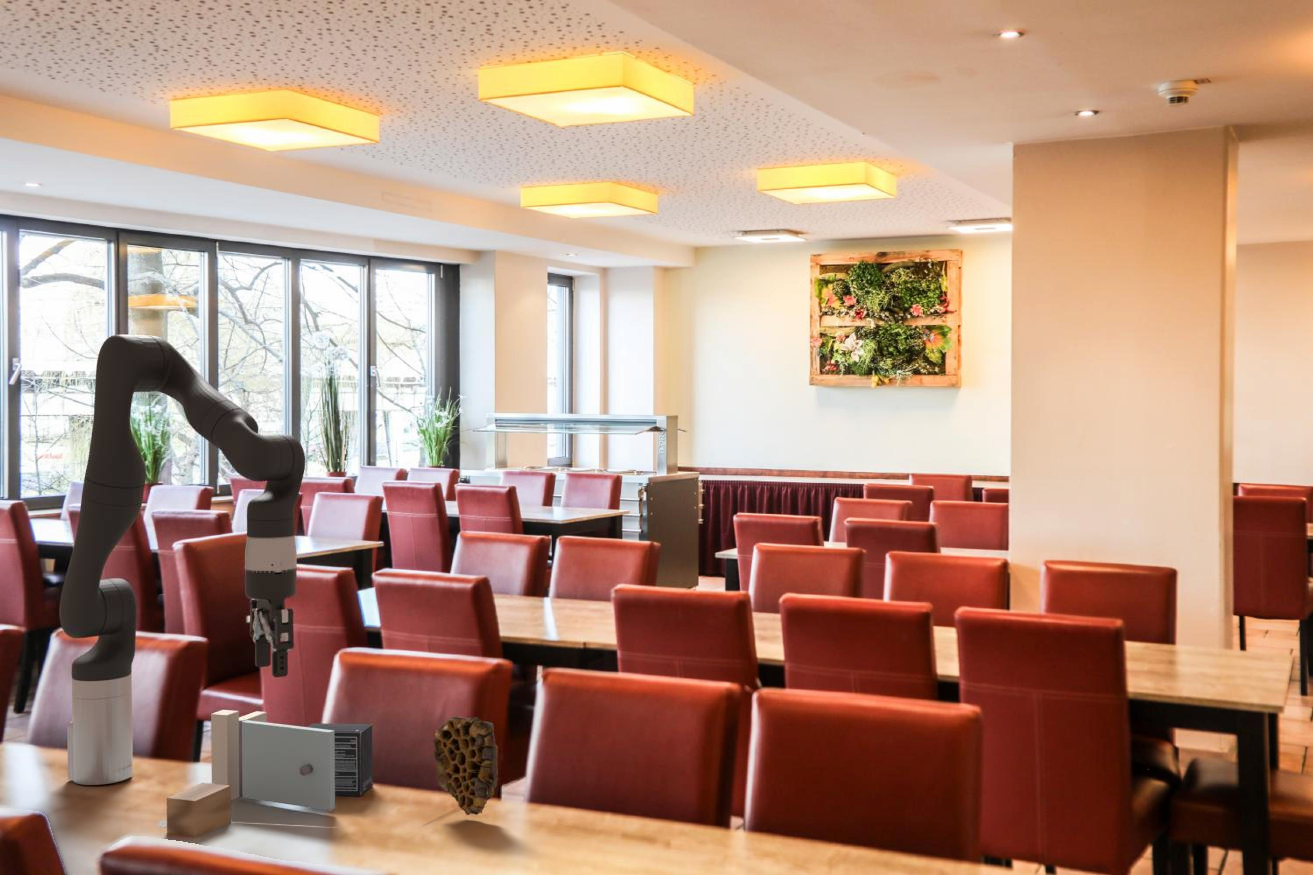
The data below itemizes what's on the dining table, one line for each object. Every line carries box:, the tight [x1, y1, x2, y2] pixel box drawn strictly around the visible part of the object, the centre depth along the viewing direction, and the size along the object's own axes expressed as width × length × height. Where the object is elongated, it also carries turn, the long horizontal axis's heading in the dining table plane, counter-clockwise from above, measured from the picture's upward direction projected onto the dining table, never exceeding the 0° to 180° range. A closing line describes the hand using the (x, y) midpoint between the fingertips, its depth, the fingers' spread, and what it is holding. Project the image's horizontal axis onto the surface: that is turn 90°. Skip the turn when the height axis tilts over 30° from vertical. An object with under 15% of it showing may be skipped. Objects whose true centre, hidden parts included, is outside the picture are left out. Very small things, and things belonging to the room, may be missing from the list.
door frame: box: [154, 709, 268, 828], centre depth 197 cm, size 3×32×14 cm, turn 162°
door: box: [239, 720, 336, 811], centre depth 198 cm, size 3×18×12 cm, turn 66°
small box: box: [307, 722, 374, 797], centre depth 208 cm, size 11×6×10 cm, turn 84°
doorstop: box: [166, 782, 232, 838], centre depth 188 cm, size 5×8×6 cm, turn 162°
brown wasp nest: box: [433, 716, 499, 816], centre depth 195 cm, size 11×4×15 cm, turn 74°
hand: (271, 671), depth 194 cm, fingers open, 8 cm apart
